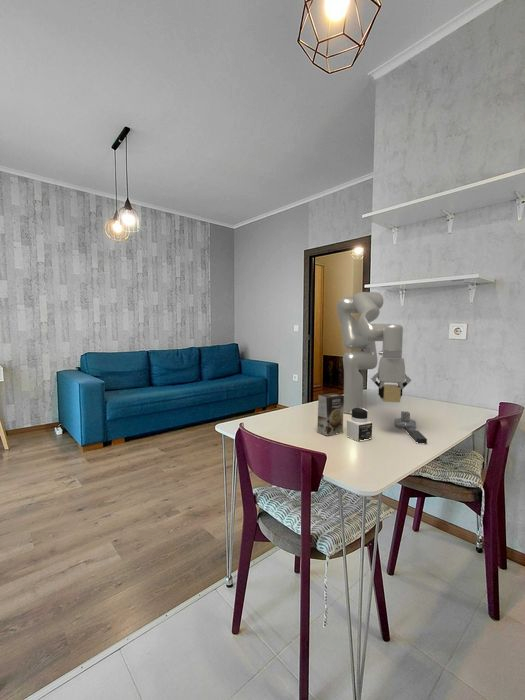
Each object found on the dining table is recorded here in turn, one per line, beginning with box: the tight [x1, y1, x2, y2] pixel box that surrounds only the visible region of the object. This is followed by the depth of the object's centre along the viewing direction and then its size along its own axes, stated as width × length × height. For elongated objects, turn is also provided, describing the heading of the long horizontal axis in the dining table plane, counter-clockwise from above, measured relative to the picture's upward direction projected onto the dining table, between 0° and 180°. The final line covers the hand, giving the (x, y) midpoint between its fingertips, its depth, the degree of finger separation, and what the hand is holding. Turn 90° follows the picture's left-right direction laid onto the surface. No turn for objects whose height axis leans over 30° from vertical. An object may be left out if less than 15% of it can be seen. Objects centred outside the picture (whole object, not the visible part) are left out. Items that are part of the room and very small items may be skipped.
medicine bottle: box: [345, 407, 373, 441], centre depth 133 cm, size 7×7×12 cm
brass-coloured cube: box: [379, 383, 401, 403], centre depth 138 cm, size 6×6×6 cm
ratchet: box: [393, 410, 428, 443], centre depth 141 cm, size 9×26×6 cm, turn 173°
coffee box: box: [317, 392, 344, 437], centre depth 139 cm, size 9×6×16 cm
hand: (390, 397), depth 138 cm, fingers closed on brass-coloured cube, 6 cm apart
